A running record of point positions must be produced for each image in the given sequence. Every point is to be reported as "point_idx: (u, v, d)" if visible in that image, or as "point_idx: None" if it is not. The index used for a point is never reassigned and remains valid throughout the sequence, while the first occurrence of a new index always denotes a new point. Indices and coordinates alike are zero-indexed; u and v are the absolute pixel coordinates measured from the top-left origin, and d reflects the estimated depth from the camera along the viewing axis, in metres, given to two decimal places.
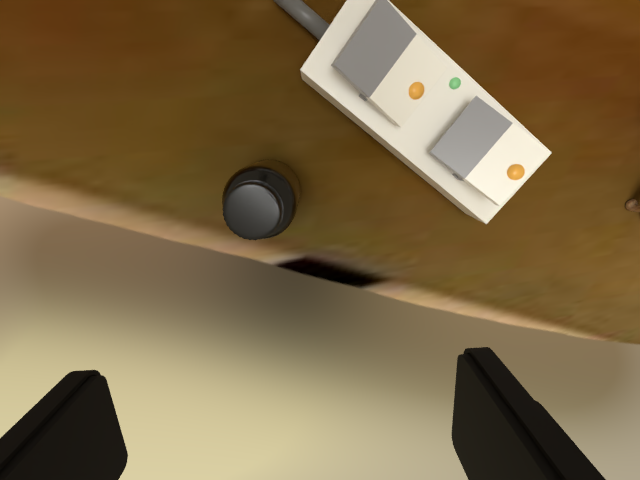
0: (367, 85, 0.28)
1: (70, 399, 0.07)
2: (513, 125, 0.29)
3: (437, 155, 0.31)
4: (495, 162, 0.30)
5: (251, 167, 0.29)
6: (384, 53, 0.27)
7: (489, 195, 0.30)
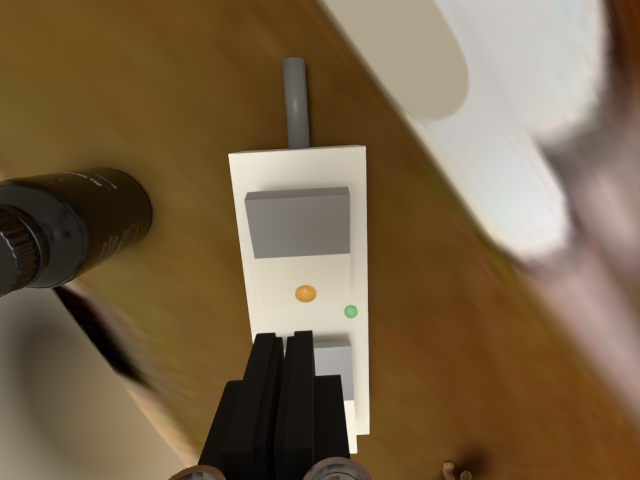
0: (262, 247, 0.21)
1: (274, 353, 0.09)
2: (352, 402, 0.24)
3: None
4: None
5: (54, 195, 0.19)
6: (304, 239, 0.20)
7: None
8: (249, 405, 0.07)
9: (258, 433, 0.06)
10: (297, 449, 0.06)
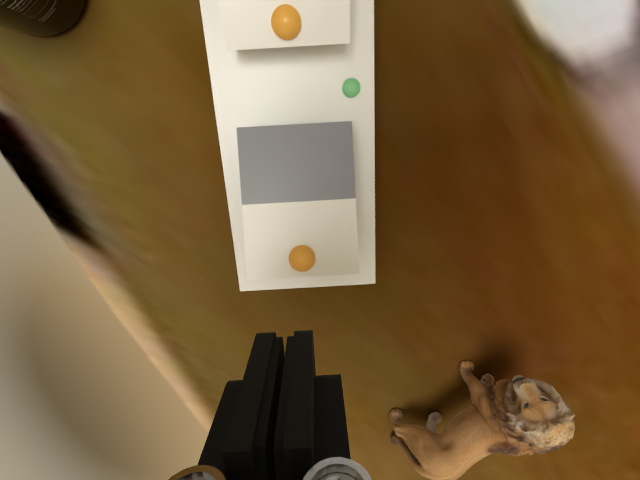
0: None
1: (274, 353, 0.09)
2: (353, 201, 0.18)
3: (239, 141, 0.17)
4: (293, 223, 0.18)
5: None
6: None
7: (247, 255, 0.18)
8: (249, 404, 0.07)
9: (258, 433, 0.06)
10: (297, 449, 0.06)
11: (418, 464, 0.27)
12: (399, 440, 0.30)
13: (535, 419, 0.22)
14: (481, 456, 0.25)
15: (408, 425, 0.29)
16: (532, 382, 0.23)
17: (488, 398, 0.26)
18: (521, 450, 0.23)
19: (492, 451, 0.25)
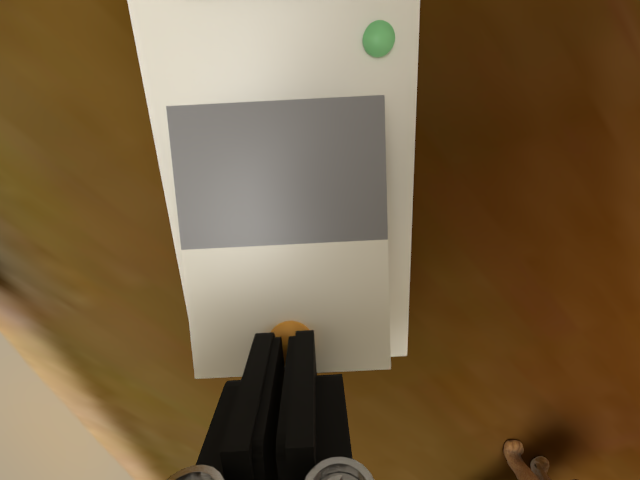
0: None
1: (272, 353, 0.09)
2: (384, 245, 0.10)
3: (173, 133, 0.09)
4: (274, 282, 0.10)
5: None
6: None
7: (195, 337, 0.10)
8: (248, 404, 0.07)
9: (256, 433, 0.06)
10: (299, 448, 0.06)
11: None
12: None
13: None
14: None
15: None
16: None
17: None
18: None
19: None
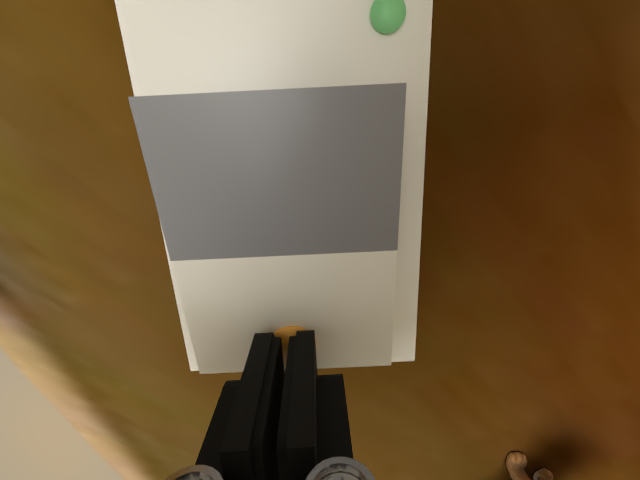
0: None
1: (272, 353, 0.09)
2: (393, 255, 0.09)
3: (143, 132, 0.08)
4: (274, 292, 0.09)
5: None
6: None
7: (195, 340, 0.10)
8: (247, 404, 0.07)
9: (255, 433, 0.06)
10: (300, 448, 0.06)
11: None
12: None
13: None
14: None
15: None
16: None
17: None
18: None
19: None
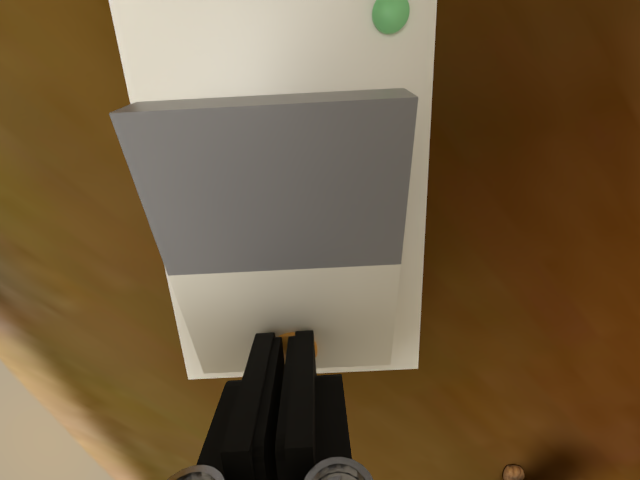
0: None
1: (273, 353, 0.09)
2: (396, 269, 0.09)
3: (129, 150, 0.07)
4: (275, 302, 0.09)
5: None
6: None
7: (198, 345, 0.10)
8: (249, 404, 0.07)
9: (257, 433, 0.06)
10: (298, 449, 0.06)
11: None
12: None
13: None
14: None
15: None
16: None
17: None
18: None
19: None
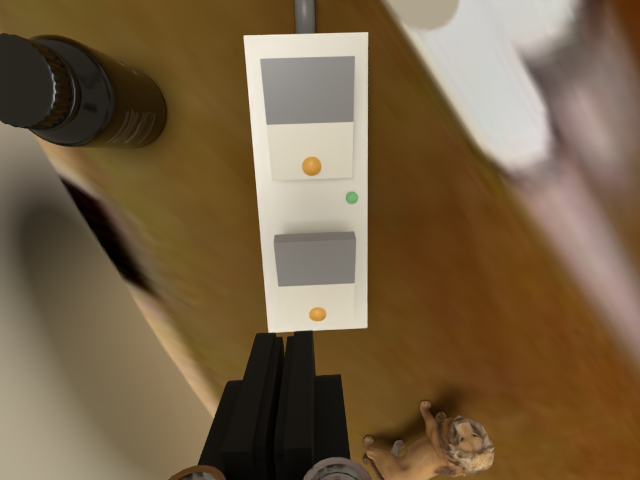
0: (274, 112, 0.23)
1: (274, 353, 0.09)
2: (353, 284, 0.26)
3: (276, 251, 0.25)
4: (312, 296, 0.27)
5: (87, 50, 0.21)
6: (313, 104, 0.23)
7: (282, 312, 0.28)
8: (249, 405, 0.07)
9: (258, 433, 0.06)
10: (297, 449, 0.06)
11: None
12: (370, 461, 0.39)
13: (467, 450, 0.31)
14: (430, 476, 0.34)
15: (377, 449, 0.38)
16: (467, 422, 0.32)
17: (438, 432, 0.35)
18: (457, 472, 0.32)
19: (437, 472, 0.33)
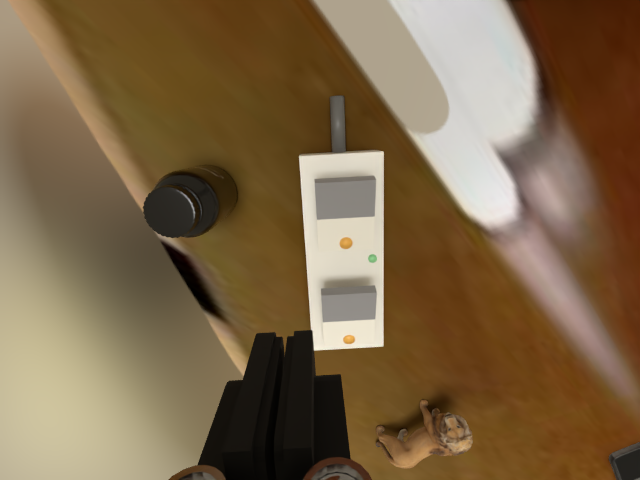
0: (322, 212, 0.34)
1: (274, 353, 0.09)
2: (374, 320, 0.38)
3: (322, 300, 0.36)
4: (345, 328, 0.39)
5: (203, 180, 0.33)
6: (348, 207, 0.34)
7: (324, 338, 0.40)
8: (249, 405, 0.07)
9: (258, 433, 0.06)
10: (297, 449, 0.06)
11: (391, 458, 0.48)
12: (381, 444, 0.51)
13: (453, 437, 0.43)
14: (426, 455, 0.46)
15: (387, 436, 0.50)
16: (454, 417, 0.44)
17: (432, 423, 0.47)
18: (445, 452, 0.44)
19: (431, 453, 0.46)
